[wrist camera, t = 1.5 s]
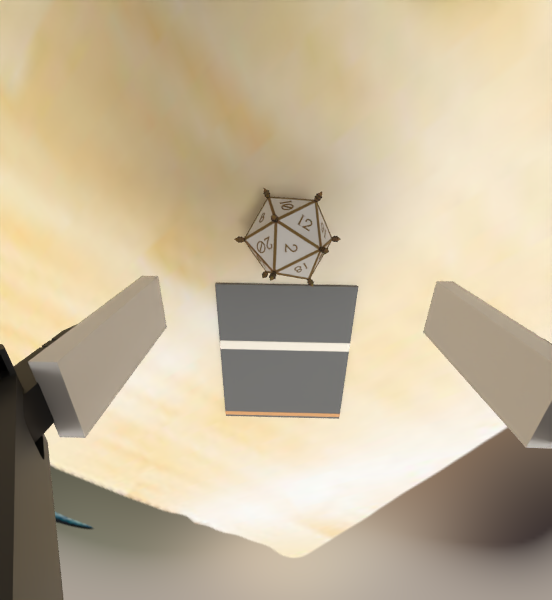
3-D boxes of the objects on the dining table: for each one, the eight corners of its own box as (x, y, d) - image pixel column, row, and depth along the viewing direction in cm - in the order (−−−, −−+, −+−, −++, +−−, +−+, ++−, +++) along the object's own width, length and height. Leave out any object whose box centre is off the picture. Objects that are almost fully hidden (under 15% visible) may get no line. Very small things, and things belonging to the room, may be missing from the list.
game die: (284, 241, 34) (253, 309, 29) (248, 178, 28) (201, 249, 23) (359, 231, 29) (337, 311, 24) (333, 151, 23) (297, 234, 18)
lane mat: (216, 283, 32) (215, 284, 32) (357, 285, 32) (358, 287, 32) (226, 413, 40) (225, 416, 40) (338, 416, 40) (339, 419, 40)
